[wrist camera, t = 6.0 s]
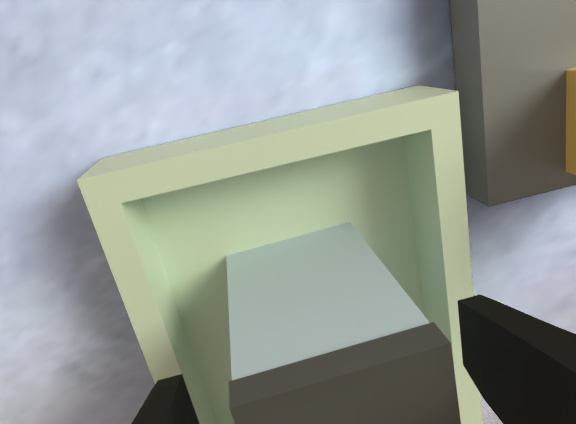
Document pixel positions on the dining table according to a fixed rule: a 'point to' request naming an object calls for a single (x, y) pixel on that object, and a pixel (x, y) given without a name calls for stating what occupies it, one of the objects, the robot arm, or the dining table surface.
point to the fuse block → (516, 95)
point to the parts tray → (284, 222)
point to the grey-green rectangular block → (332, 338)
